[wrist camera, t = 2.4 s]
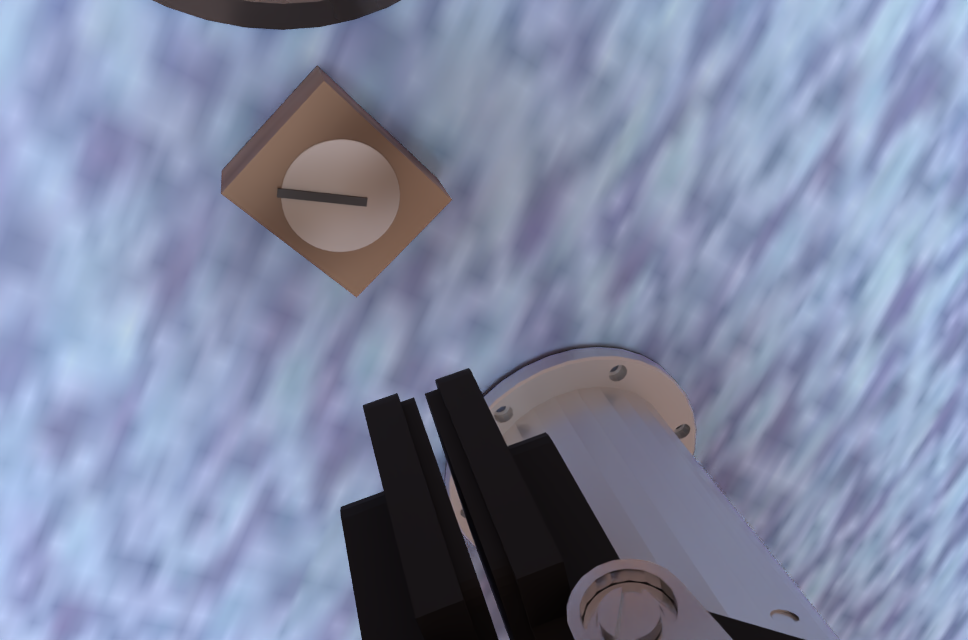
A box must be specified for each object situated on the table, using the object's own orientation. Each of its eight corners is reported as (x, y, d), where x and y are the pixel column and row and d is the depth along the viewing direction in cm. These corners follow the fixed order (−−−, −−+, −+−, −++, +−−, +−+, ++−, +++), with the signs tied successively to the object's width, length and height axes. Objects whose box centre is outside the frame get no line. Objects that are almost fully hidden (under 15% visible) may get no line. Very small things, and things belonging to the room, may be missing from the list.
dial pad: (437, 178, 30) (453, 201, 28) (348, 269, 31) (357, 299, 29) (316, 65, 27) (324, 82, 25) (221, 170, 28) (220, 195, 26)
